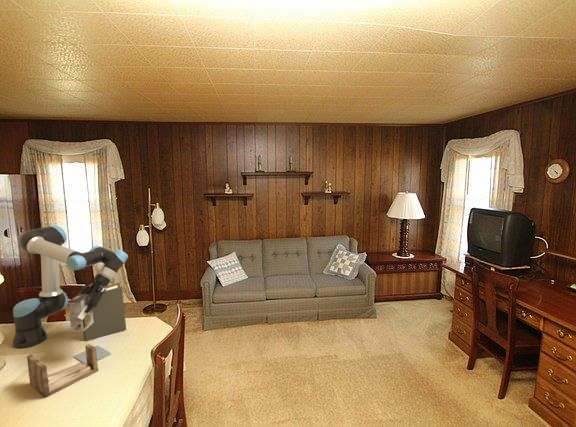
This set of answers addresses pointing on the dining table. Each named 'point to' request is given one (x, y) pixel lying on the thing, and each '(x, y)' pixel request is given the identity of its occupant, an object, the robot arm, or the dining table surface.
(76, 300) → the coffee box
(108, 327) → the book
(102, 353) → the mat
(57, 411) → the dining table surface
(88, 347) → the rack
